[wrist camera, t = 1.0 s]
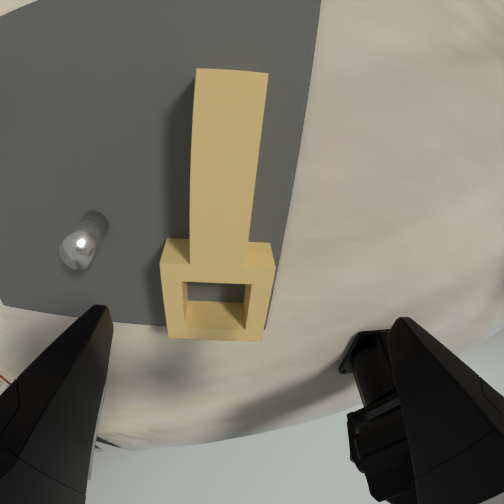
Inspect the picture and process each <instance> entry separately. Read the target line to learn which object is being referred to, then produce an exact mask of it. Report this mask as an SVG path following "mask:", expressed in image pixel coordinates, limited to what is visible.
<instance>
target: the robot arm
mask: <svg viewBox="0 0 504 504" xmlns="http://www.w3.org/2000/svg"><path fill="white" fill-rule="evenodd" d="M112 336H113V323H112V319H111V315H110V311H109V308H108V307H107V306H106V305H99V304H94V305H93V306H91V307H90V308H89V309H88V310H87V311H86V312H85V313H84V314H83V315H81V316H80V317H79V318H78V319H77V320H76V321H75V322H74V323H73V324H72V325H71V326H70V327H68V328H67V329H66V330H65V331H64V332H63V333H62V334H61V335H60V336H59V337H58V338H57V339H56V340H55V341H54V342H53V343H52V344H50V345H49V346H48V347H47V348H46V349H45V350H44V351H43V352H42V353H41V354H40V355H39V356H38V357H37V358H36V359H35V360H34V361H33V362H32V363H31V364H30V365H29V366H28V367H27V368H26V369H25V370H24V371H23V372H22V373H21V374H20V375H19V376H18V377H17V379H15V380H14V381H13V382H12V383H11V384H10V386H9V387H8V388H7V389H6V390H5V391H4V392H3V393H2V394H1V395H0V504H85V499H86V495H85V494H86V488H87V479H88V472H89V465H90V458H91V451H92V445H93V440H94V434H95V429H96V423H97V418H98V413H99V409H100V404H101V399H102V395H103V391H104V386H105V382H106V377H107V370H108V363H109V356H110V349H111V342H112ZM339 373H340V374H347V373H353V375H354V378H355V381H356V384H357V387H358V390H359V393H360V396H361V399H362V403H363V405H364V408H362V409H359V410H357V411H355V412H351V413H348V414H347V419H348V421H347V427H348V436H349V445H350V460H351V461H352V462H354V463H355V464H356V466H357V468H358V470H359V471H360V472H361V473H365V476H366V479H367V482H368V486H369V490H370V494H371V496H372V497H374V498H375V499H376V500H377V501H378V502H381V501H384V500H386V501H387V502H389V503H391V504H504V397H503V396H502V395H501V394H499V393H498V392H497V391H496V390H495V389H493V388H492V387H491V386H490V385H489V384H488V383H486V382H485V381H484V380H483V379H482V378H481V377H479V375H477V374H476V373H475V372H474V371H473V370H472V369H470V368H469V367H468V366H467V365H466V364H465V363H464V362H462V361H461V360H460V359H459V358H458V357H457V356H456V355H454V354H453V353H452V352H451V351H450V350H448V349H447V348H446V347H445V346H444V345H443V344H441V343H440V342H439V341H438V340H437V339H435V338H434V337H433V336H432V335H431V334H429V333H428V332H427V331H426V330H425V329H423V328H422V327H421V326H420V325H418V324H417V323H416V322H415V321H414V320H412V319H411V318H410V317H399V318H397V320H396V321H395V323H394V324H393V326H392V328H391V329H389V330H377V331H364V332H361V333H359V334H358V335H357V337H356V339H355V341H354V342H353V344H352V346H351V348H350V350H349V352H348V353H347V355H346V357H345V359H344V361H343V362H342V364H341V366H340V368H339Z"/></svg>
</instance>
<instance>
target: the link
mask: <svg viewBox="0 0 504 504" xmlns="http://www.w3.org/2000/svg"><path fill="white" fill-rule="evenodd" d="M268 75H269V73H261V72H251V71H240V70H226V69H203V68H196V79H195V92H194V106H193V122H192V142H191V169H190V239H178V238H167V240H166V243H165V246H164V250H163V253H162V256H161V260H160V273H161V283H162V292H163V300H164V308H165V316H166V323H167V330H168V337H169V338H179V339H197V340H223V341H261V340H262V335H263V330H264V325H265V320H266V315H267V311H268V306H269V301H270V296H271V291H272V286H273V280H274V275H275V270H276V267H275V262H274V258H273V254H272V249H271V245H270V243H263V242H248V239H249V231H250V222H251V214H252V206H253V197H254V189H255V181H256V172H257V164H258V156H259V148H260V140H261V131H262V123H263V115H264V107H265V99H266V91H267V83H268ZM187 282H206V283H231V284H246V285H245V294H244V302H243V303H237V302H210V301H188V290H187Z"/></svg>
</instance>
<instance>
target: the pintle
mask: <svg viewBox="0 0 504 504" xmlns="http://www.w3.org/2000/svg"><path fill="white" fill-rule="evenodd" d="M108 230H109V224H108V221H107V219H106V217H105V216H104V215H103V214H102V213H100V212H98V211H94V210H91V211H87V212H86V213H85V214H84V215H83V216H82V217H81V218H80V220H79V221H78V222H77V224H76V225H75V226H74V227H73V229H72V230H71V231H70V233H69V234H68V235H67V237H66V238H65V239H64V241H63V242H62V243H61V245H60V247H59V254H60V257H61V259H62V260H63V262H64V263H65V264H66V265H67V266H68V267H70V268H72V269H75V270H83V269H85V268H87V267H88V265H89V264H90V262H91V260H92V258H93V256H94V255H95V253H96V251H97V249H98V248H99V246H100V244H101V243H102V241H103V239H104V237H105V236H106V234H107V232H108Z"/></svg>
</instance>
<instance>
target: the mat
mask: <svg viewBox="0 0 504 504" xmlns="http://www.w3.org/2000/svg"><path fill="white" fill-rule="evenodd" d="M320 4H321V0H38V1H35V2H33V3H30V4H28V5H25V6H23V7H20V8H18V9H16V10H13V11H11V12H9V13H7V14H5V15H3V16H1V17H0V299H1V301H2V303H3V305H5V306H11V307H16V308H21V309H27V310H32V311H38V312H44V313H51V314H57V315H64V316H71V317H78V318H79V317H80V316H81V315H83V314H84V313H85V312H86V311H87V310H88V309H89V308H90V307H91V306H93V305H94V304H99V305H106V306H107V307H108V308H109V311H110V315H111V319H112V322H121V323H132V324H143V325H155V326H167V323H166V316H165V308H164V300H163V292H162V283H161V273H160V260H161V256H162V253H163V250H164V246H165V243H166V240H167V238H178V239H190V169H191V142H192V122H193V106H194V92H195V79H196V68H203V69H226V70H240V71H251V72H261V73H269V75H268V83H267V91H266V99H265V107H264V115H263V123H262V131H261V140H260V148H259V156H258V164H257V172H256V181H255V189H254V197H253V206H252V214H251V222H250V231H249V239H248V242H263V243H270V245H271V249H272V254H273V258H274V262H275V267H276V270H275V275H274V280H273V286H272V291H271V296H270V301H269V306H268V311H267V315H266V320H265V325H264V330H265V328H266V323H267V318H268V314H269V309H270V304H271V299H272V294H273V289H274V284H275V279H276V274H277V269H278V264H279V259H280V254H281V249H282V244H283V238H284V233H285V228H286V222H287V217H288V212H289V206H290V201H291V195H292V189H293V184H294V178H295V172H296V167H297V161H298V155H299V149H300V143H301V137H302V131H303V124H304V118H305V112H306V105H307V99H308V92H309V86H310V79H311V72H312V65H313V58H314V51H315V43H316V36H317V28H318V21H319V13H320ZM91 210H94V211H98V212H100V213H102V214H103V215H104V216H105V217H106V219H107V221H108V224H109V230H108V232H107V234H106V236H105V237H104V239H103V241H102V243H101V244H100V246H99V248H98V249H97V251H96V253H95V255H94V256H93V258H92V260H91V262H90V264H89V265H88V267H87V268H85V269H83V270H75V269H72V268H70V267H68V266H67V265H66V264H65V263H64V262H63V260H62V259H61V257H60V254H59V247H60V245H61V243H62V242H63V241H64V239H65V238H66V237H67V235H68V234H69V233H70V231H71V230H72V229H73V227H74V226H75V225H76V224H77V222H78V221H79V220H80V218H81V217H82V216H83V215H84V214H85V213H86V212H87V211H91ZM245 285H246V284H231V283H206V282H187V290H188V301H210V302H237V303H243V302H244V294H245Z"/></svg>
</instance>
